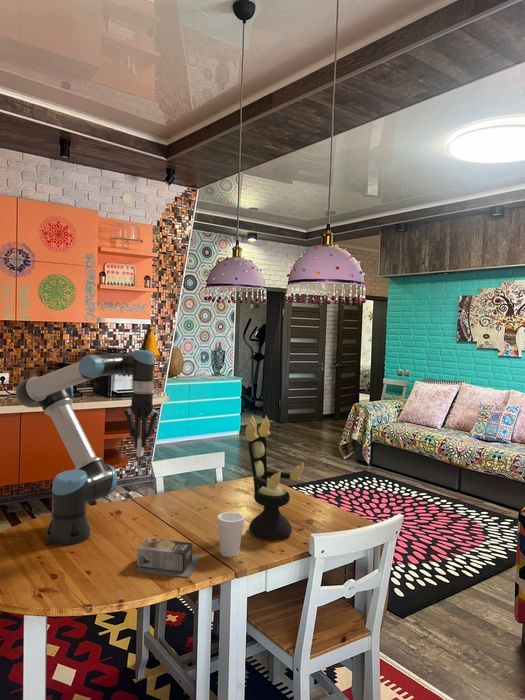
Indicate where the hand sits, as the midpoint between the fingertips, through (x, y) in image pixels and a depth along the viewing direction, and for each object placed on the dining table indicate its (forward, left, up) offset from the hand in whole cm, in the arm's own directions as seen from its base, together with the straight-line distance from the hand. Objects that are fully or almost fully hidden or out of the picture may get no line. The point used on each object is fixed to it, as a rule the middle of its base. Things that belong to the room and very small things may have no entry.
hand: (140, 455), depth 192 cm
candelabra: (+46, +16, -31) cm, 58 cm away
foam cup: (+36, -6, -31) cm, 48 cm away
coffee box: (+9, -19, -27) cm, 34 cm away
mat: (+18, -19, -30) cm, 40 cm away
